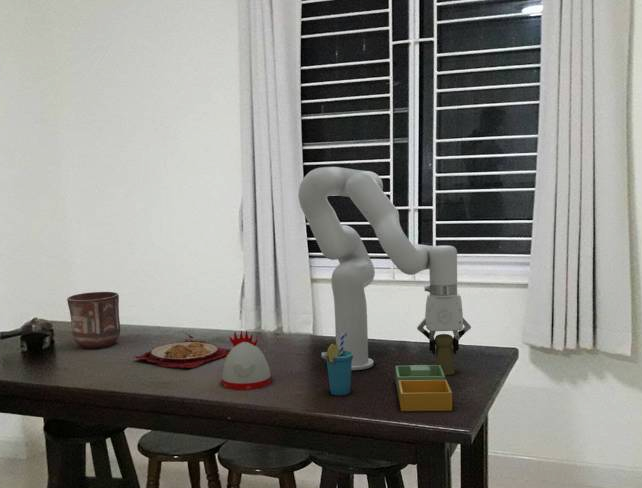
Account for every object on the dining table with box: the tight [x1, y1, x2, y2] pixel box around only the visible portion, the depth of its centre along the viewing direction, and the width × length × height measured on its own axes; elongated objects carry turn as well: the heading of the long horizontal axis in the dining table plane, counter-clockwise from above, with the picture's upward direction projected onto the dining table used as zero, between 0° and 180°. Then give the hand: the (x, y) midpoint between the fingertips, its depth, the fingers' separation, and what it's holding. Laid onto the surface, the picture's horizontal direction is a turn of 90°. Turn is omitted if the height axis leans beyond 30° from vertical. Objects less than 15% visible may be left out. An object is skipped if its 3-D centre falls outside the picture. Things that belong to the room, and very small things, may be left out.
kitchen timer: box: [221, 330, 272, 390], centre depth 216 cm, size 14×14×15 cm
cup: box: [325, 333, 353, 396], centre depth 203 cm, size 14×8×15 cm, turn 159°
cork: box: [433, 333, 456, 376], centre depth 216 cm, size 6×6×11 cm
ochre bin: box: [397, 379, 453, 412], centre depth 190 cm, size 12×11×4 cm
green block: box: [409, 364, 430, 376], centre depth 203 cm, size 5×5×5 cm
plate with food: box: [133, 334, 232, 369], centre depth 249 cm, size 24×26×3 cm
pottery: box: [66, 291, 121, 350], centre depth 271 cm, size 18×18×18 cm
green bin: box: [394, 364, 446, 392], centre depth 204 cm, size 12×11×4 cm
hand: (444, 352), depth 216 cm, fingers closed on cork, 5 cm apart
